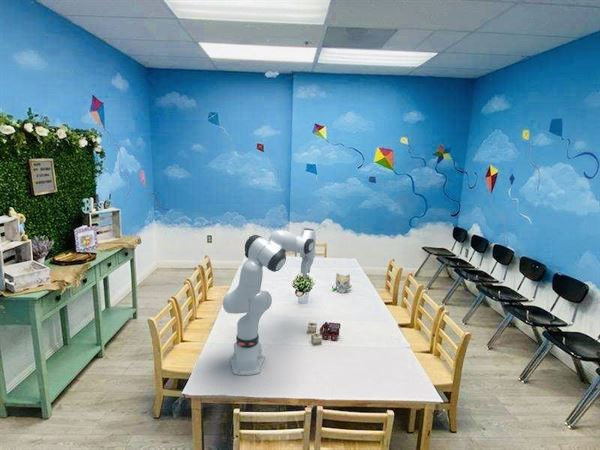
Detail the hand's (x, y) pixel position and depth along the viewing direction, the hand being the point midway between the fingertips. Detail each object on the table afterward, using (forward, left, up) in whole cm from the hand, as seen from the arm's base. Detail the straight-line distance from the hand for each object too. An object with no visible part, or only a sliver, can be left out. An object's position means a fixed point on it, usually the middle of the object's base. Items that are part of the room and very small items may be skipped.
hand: (306, 275), depth 233 cm
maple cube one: (-17, -5, -36) cm, 40 cm away
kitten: (+57, -35, -36) cm, 76 cm away
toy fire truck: (-11, -14, -36) cm, 41 cm away
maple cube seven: (-4, -4, -36) cm, 37 cm away
